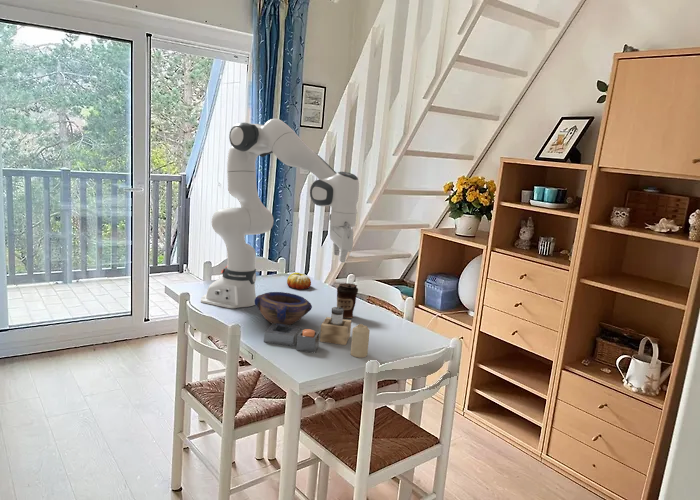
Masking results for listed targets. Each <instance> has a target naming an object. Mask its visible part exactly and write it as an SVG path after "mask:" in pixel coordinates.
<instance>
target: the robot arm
mask: <svg viewBox="0 0 700 500" xmlns="http://www.w3.org/2000/svg"><path fill="white" fill-rule="evenodd" d="M228 135H229V136H228V137H229V143H230V144H231V146H230V147H229V148H228V149H229V150H228V155H227V162H226V165H227V166H226V167H227V169H226V172H227V173H226V174H227V176H226V177H227V190H228V193H229V194H230V195H231V196H232V197H233V198H235V199H237V200H238V201H239V204H240V207H225V208H220V209H217V210H216V211H214V213H213V214H212V217H211V226H212V229H213V230H214V232H215V234H217V235H218V236H220V237H221V239H222V240H223V242H224V244H225V246H226V254H227V255H226V256H227V258H226V259H227V260H226V261H227V265H226V266H225V267H224V268H223V269H221V272H220V274H222V275H221V276H220V277H218V278H217V279H216V280H214V281H213V282H211V283H210V284H209V286H208V288H207V291H206V293H205V294H203V295H202V296H201V297H200V302H201V303H202V304H208V305H212V306H217V307H223V308H226V309H227V308H228V309H236V308H237V309H238V308H247V307H252V306H256V305H255V299H256V297H257V295H256V294H257V293H256V279H257V269H256V249H255V248H254V247H253V246H252V245H251V244H249V243H246V239H245V236H249V235H250V236H251V235H262V234H266V233H269V232H270V231H271V229H272V228H273V226H274V216H273V213H272V212H271V210H269V209H268V208H267V207H266V206H265V205H264V203H263V202H262V201H261V198H260V196H259V192H258V188H257V173H256V172H257V170H256V161H257V158H258V157H259V156H260V157H261V158H264V157H265V156H268V155H270V154H274V156H275V157H276V158H277V159H278V160H279V161H280V162H281V163H283V164H284V165H286V166H288V167H292V168H298V169H302V170H305V171H308V172H310V173H311V174H313V175H314V176H315V177H316V178H317V180H315V181H313V183H312V184H311V186H310V188H309V197H310V200H311V201H312V203H313V204H314V205H316V206H319V207H330V208H331V211H330V213H329V217H328V221H329V223H330V225H329V226H330V227H329V237H330V240H331V242H333V255H334V256H339V262H340V263H345V262H346V258H347V255H348V252H350V253H351V252H352V250H353V248H354V247H353V245H354V230H353V229H352V227H356V221H357V213H358V211H357V204H358V201H359V195H360V181H359V177H357V176H356V175H355V174H353V173H351V172H347V171H338V172H336V170H335V169H333V168H332V167H331V166H330V165H329V164H328V163H327V162H326V161H325V160H324V159H323V158H322V157H321V156H320V155H318V154H317V153H316V152H315V151H314V150H313V149H312V148H311V147H309V146H308V145H307V144H306V143H305V142H304V141H303V140H302V139H301V138H300V137H299V135H298V134H297V133H296V132H295V131H294V130H293V129H292V128H291V127H290V126H289V125H288V124H287V123H285V122H284V121H283V120H281V119H279V118H270V119H269V120H267V121H266V122H265V123H264V124H260V123H249V122H237V123H235V124H233V126H232V127H231V128H230V131H229V134H228Z"/></svg>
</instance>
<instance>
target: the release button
mask: <svg viewBox="0 0 700 500" xmlns="http://www.w3.org/2000/svg"><path fill="white" fill-rule="evenodd" d="M302 330H303V334H302V336H309V337H314V336H315V332H316V330H314V329H310V328H305V329H302Z"/></svg>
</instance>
